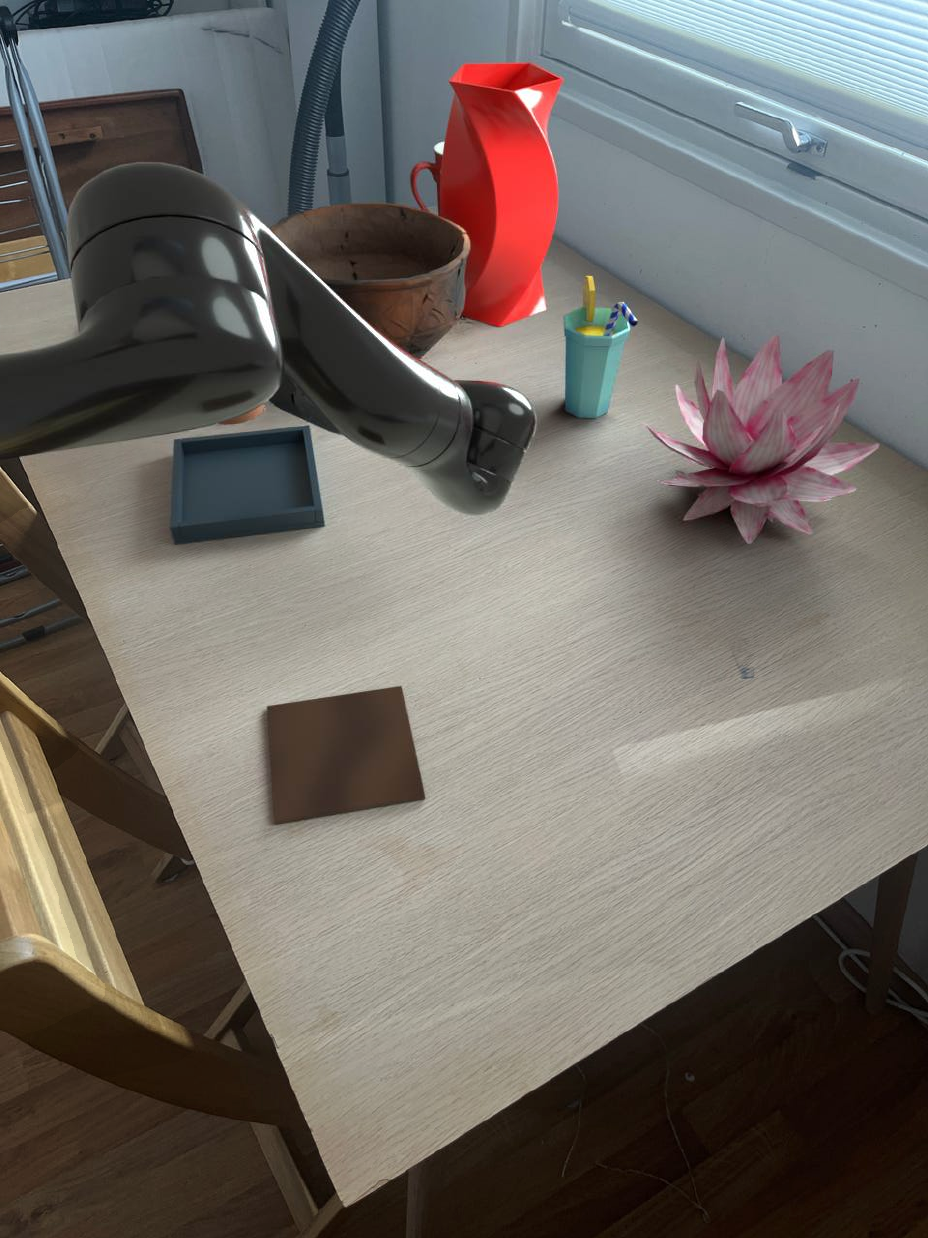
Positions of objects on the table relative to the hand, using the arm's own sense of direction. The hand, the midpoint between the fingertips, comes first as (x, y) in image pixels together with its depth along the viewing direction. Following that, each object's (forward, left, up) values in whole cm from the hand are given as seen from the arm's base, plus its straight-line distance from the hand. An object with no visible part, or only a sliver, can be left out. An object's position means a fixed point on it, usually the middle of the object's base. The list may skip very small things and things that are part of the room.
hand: (202, 329), depth 84 cm
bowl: (+19, +21, -16) cm, 32 cm away
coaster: (+8, -41, -15) cm, 44 cm away
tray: (+2, -5, -15) cm, 16 cm away
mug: (+36, +56, -16) cm, 68 cm away
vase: (+37, +33, -16) cm, 52 cm away
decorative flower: (+52, -17, -16) cm, 57 cm away
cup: (+42, +3, -16) cm, 45 cm away
